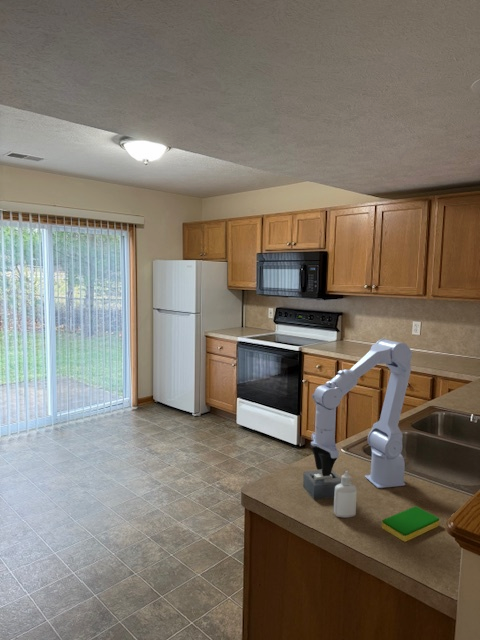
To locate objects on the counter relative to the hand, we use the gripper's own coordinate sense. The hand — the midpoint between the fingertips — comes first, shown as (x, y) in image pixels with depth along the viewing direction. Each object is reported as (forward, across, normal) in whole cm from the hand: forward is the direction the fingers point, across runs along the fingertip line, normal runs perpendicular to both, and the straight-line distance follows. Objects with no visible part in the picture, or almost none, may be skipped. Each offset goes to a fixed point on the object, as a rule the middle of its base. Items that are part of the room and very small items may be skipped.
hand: (323, 472), depth 129 cm
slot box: (+6, 0, 0) cm, 6 cm away
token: (+6, 0, 0) cm, 6 cm away
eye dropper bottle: (+6, +13, 0) cm, 14 cm away
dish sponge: (+6, +22, +14) cm, 27 cm away
